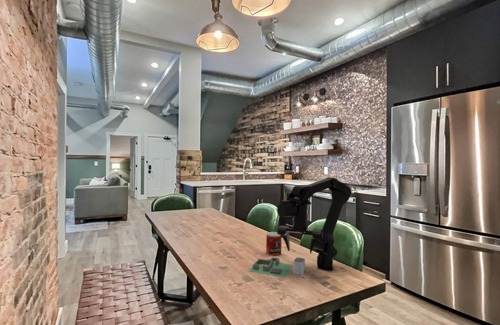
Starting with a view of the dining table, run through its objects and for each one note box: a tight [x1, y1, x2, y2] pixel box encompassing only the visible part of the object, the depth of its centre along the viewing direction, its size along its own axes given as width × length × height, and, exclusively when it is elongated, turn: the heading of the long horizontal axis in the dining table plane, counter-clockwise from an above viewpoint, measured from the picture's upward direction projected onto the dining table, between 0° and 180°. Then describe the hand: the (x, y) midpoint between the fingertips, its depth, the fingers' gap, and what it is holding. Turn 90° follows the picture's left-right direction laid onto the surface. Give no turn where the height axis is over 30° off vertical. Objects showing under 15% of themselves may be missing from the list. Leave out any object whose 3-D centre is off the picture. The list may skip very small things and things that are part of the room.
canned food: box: [265, 231, 283, 257], centre depth 142 cm, size 8×8×11 cm
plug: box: [292, 257, 306, 276], centre depth 119 cm, size 4×6×6 cm
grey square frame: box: [252, 258, 273, 272], centre depth 123 cm, size 7×8×2 cm
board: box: [248, 256, 293, 278], centre depth 123 cm, size 16×15×3 cm
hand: (299, 252), depth 119 cm, fingers open, 9 cm apart
